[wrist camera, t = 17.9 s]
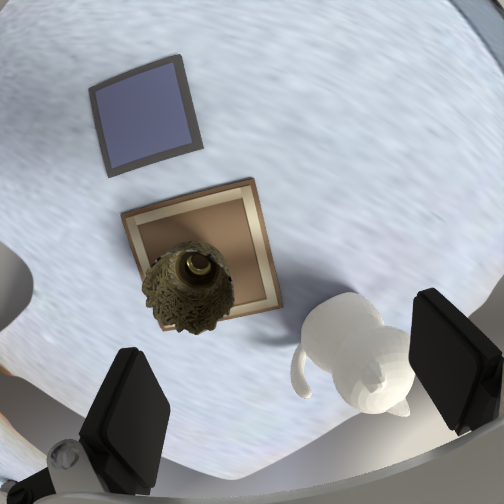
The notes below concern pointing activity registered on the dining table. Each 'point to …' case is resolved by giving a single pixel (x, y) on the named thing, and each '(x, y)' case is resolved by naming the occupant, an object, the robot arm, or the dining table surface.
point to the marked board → (213, 240)
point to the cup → (189, 288)
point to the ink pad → (145, 116)
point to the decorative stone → (7, 487)
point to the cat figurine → (356, 355)
